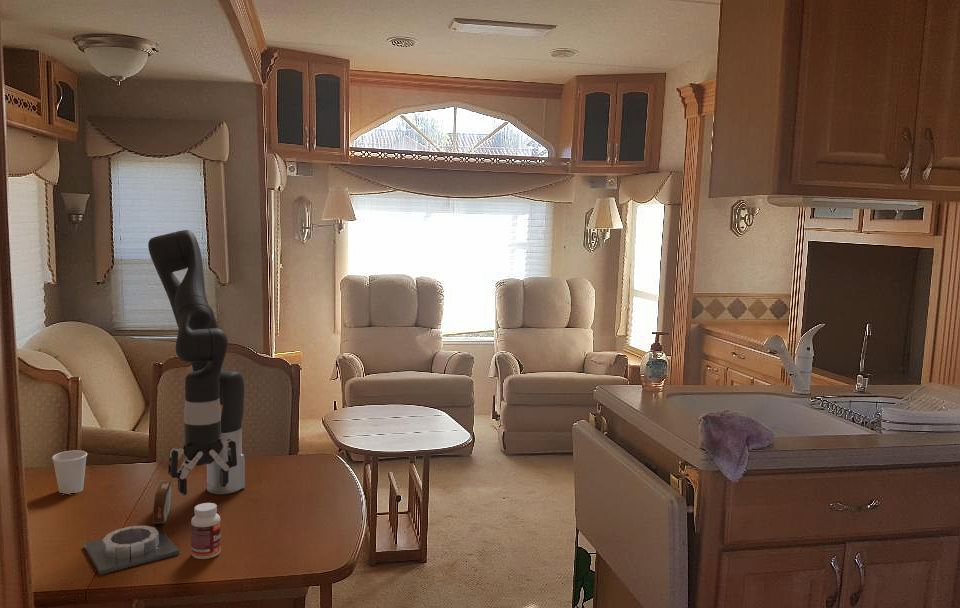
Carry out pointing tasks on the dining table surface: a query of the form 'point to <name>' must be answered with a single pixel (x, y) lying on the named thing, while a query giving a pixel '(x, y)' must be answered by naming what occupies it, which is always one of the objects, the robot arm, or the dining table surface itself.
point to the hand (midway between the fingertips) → (203, 490)
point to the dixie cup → (70, 470)
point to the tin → (162, 502)
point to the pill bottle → (205, 531)
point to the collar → (130, 548)
